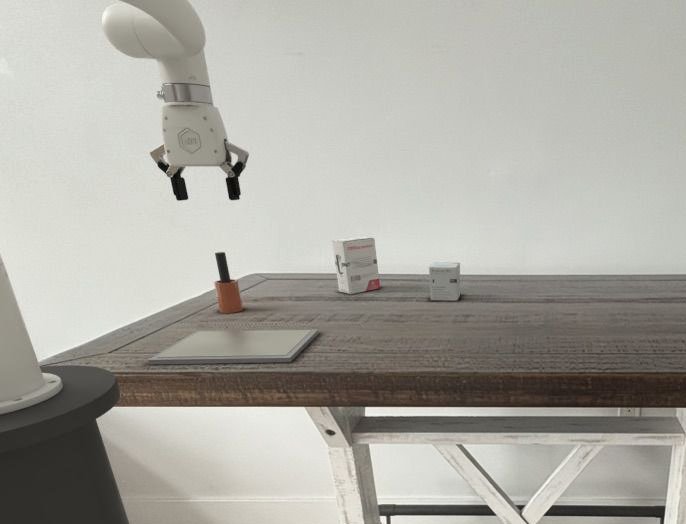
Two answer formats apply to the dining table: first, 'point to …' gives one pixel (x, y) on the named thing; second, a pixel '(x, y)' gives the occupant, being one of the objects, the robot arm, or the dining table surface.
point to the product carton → (444, 281)
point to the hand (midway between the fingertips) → (208, 200)
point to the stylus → (222, 267)
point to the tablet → (237, 347)
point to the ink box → (356, 264)
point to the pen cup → (228, 296)
